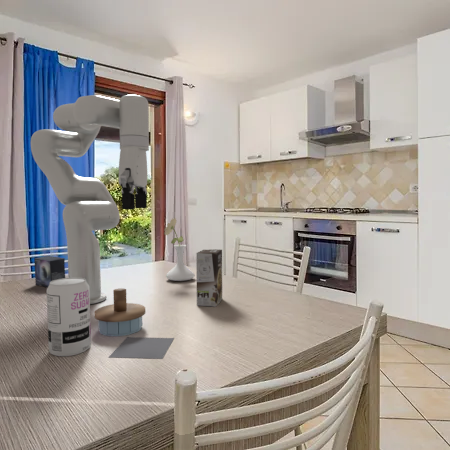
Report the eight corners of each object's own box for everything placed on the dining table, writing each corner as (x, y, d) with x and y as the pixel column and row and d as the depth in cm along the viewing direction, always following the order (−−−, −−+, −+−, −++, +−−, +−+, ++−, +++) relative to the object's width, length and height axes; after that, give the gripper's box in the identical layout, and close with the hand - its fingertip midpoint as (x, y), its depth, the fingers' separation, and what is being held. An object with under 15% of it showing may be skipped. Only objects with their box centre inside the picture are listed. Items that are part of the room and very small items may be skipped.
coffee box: (216, 307, 111) (216, 253, 110) (196, 305, 112) (195, 252, 111) (223, 299, 120) (222, 249, 119) (203, 298, 121) (203, 248, 120)
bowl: (91, 337, 87) (91, 320, 87) (108, 322, 97) (108, 307, 97) (134, 338, 86) (133, 321, 86) (146, 323, 96) (146, 308, 96)
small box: (34, 285, 141) (32, 257, 140) (50, 282, 146) (49, 255, 146) (50, 288, 135) (49, 260, 134) (66, 285, 140) (65, 257, 140)
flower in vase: (179, 275, 157) (178, 216, 155) (200, 279, 150) (200, 217, 148) (156, 281, 146) (155, 217, 144) (178, 285, 139) (177, 218, 138)
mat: (108, 359, 75) (108, 357, 75) (127, 338, 86) (127, 337, 86) (162, 360, 74) (162, 358, 74) (174, 339, 85) (174, 338, 85)
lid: (85, 321, 86) (84, 295, 85) (106, 306, 98) (105, 284, 97) (136, 322, 85) (136, 296, 84) (151, 307, 97) (150, 284, 96)
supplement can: (57, 344, 83) (54, 277, 82) (95, 342, 83) (93, 276, 82) (42, 359, 75) (39, 285, 74) (84, 358, 75) (82, 284, 74)
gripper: (132, 148, 108) (132, 207, 110) (107, 139, 91) (108, 209, 92) (157, 148, 107) (157, 207, 109) (137, 139, 90) (137, 210, 92)
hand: (134, 208), depth 101 cm, fingers open, 9 cm apart
